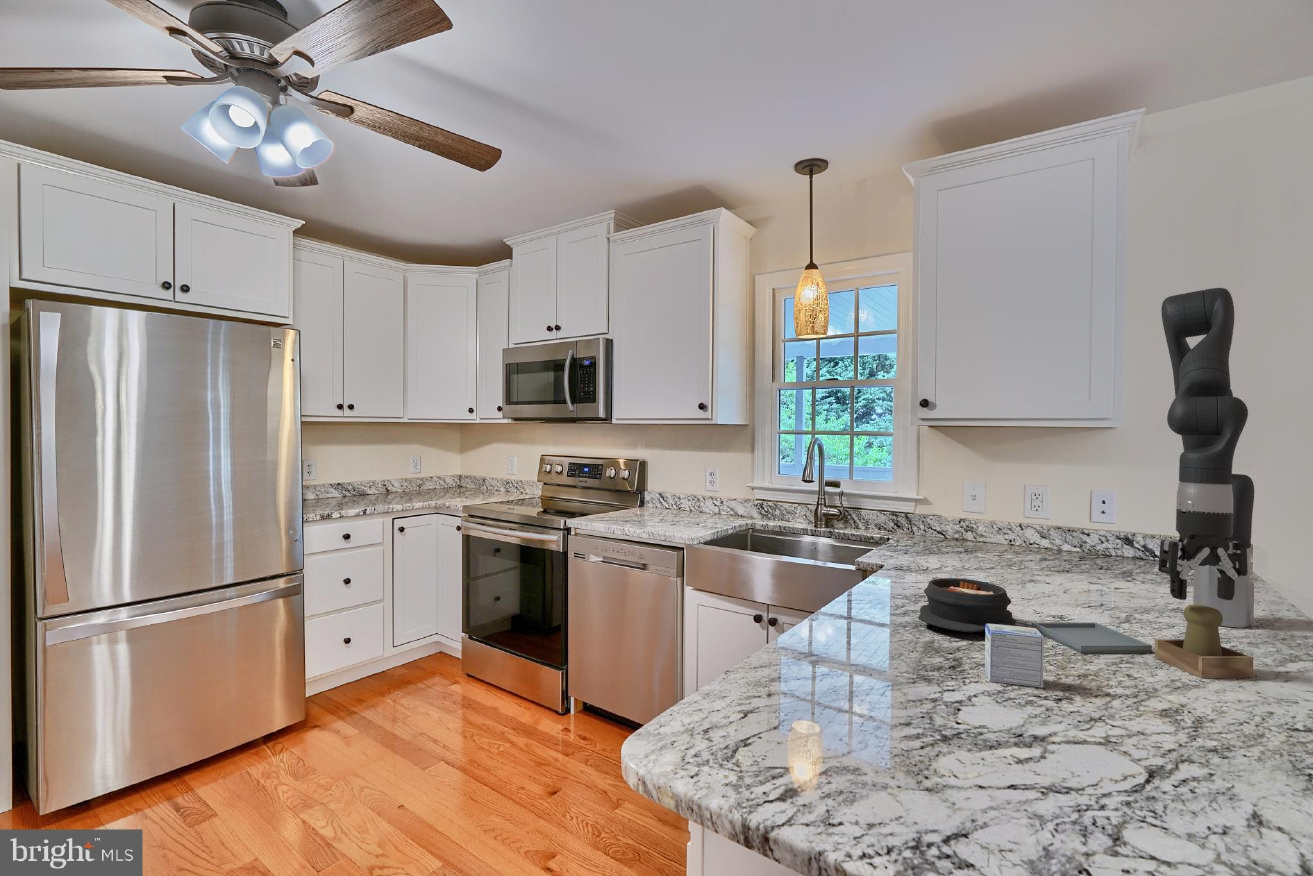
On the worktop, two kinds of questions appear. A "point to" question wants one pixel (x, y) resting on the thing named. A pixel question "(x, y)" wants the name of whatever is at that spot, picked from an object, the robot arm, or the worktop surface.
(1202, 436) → the robot arm
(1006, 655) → the medicine box
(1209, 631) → the cork
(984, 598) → the casserole
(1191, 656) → the holder
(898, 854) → the worktop surface
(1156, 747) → the worktop surface
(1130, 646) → the tray
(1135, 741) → the worktop surface
